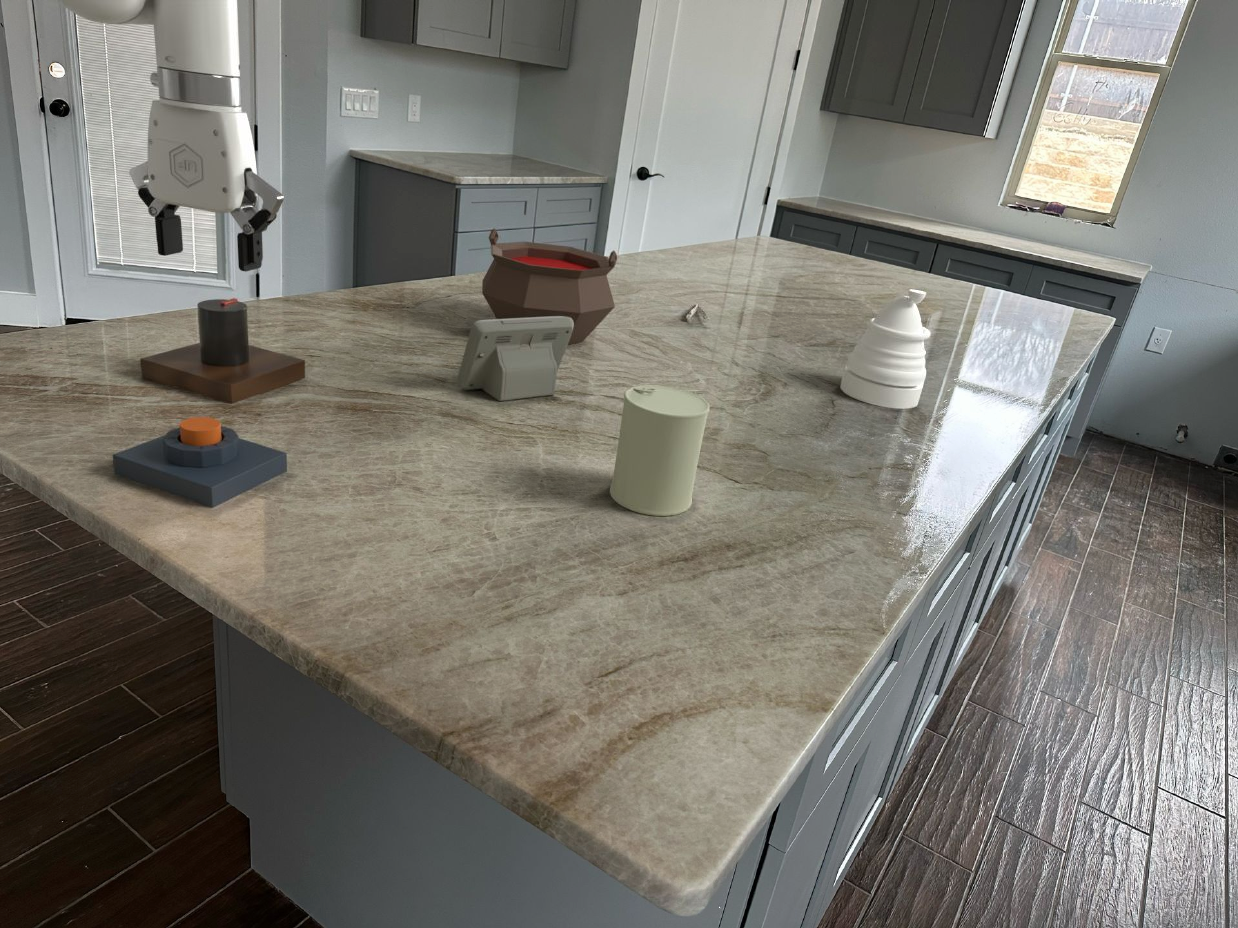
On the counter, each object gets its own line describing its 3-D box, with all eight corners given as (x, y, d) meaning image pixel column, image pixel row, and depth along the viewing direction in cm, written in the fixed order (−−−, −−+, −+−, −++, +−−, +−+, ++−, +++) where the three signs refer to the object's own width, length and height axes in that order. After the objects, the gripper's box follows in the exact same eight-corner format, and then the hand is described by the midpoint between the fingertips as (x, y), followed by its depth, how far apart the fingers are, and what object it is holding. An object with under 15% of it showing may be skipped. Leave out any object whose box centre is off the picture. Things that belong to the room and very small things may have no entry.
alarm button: (172, 441, 82) (170, 424, 82) (201, 430, 86) (200, 414, 85) (201, 450, 81) (200, 433, 81) (229, 439, 85) (228, 422, 84)
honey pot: (934, 405, 141) (966, 299, 133) (881, 411, 134) (912, 299, 127) (876, 379, 150) (903, 278, 143) (824, 383, 143) (850, 278, 136)
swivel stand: (141, 377, 105) (139, 358, 104) (221, 354, 117) (220, 337, 116) (231, 404, 102) (230, 385, 101) (305, 378, 113) (304, 360, 112)
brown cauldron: (626, 331, 157) (638, 242, 150) (590, 365, 135) (603, 262, 129) (504, 307, 161) (511, 219, 154) (450, 336, 139) (456, 235, 133)
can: (639, 471, 100) (654, 375, 95) (706, 499, 96) (726, 399, 91) (592, 493, 93) (607, 390, 88) (663, 525, 88) (682, 418, 84)
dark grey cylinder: (231, 369, 105) (228, 311, 102) (191, 360, 106) (186, 303, 103) (258, 357, 110) (256, 302, 107) (219, 349, 111) (215, 294, 108)
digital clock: (555, 377, 127) (562, 308, 123) (578, 399, 120) (587, 326, 115) (448, 380, 120) (452, 306, 116) (466, 403, 113) (472, 325, 108)
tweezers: (708, 326, 169) (710, 316, 169) (685, 322, 169) (686, 312, 169) (706, 311, 186) (708, 302, 185) (685, 308, 186) (687, 299, 185)
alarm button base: (114, 475, 82) (110, 437, 81) (195, 442, 91) (193, 408, 89) (212, 509, 79) (210, 470, 77) (287, 472, 88) (286, 436, 86)
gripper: (96, 78, 84) (114, 252, 90) (255, 104, 81) (261, 281, 88) (151, 81, 90) (164, 243, 97) (299, 105, 88) (301, 269, 95)
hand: (210, 261), depth 93 cm, fingers open, 9 cm apart
